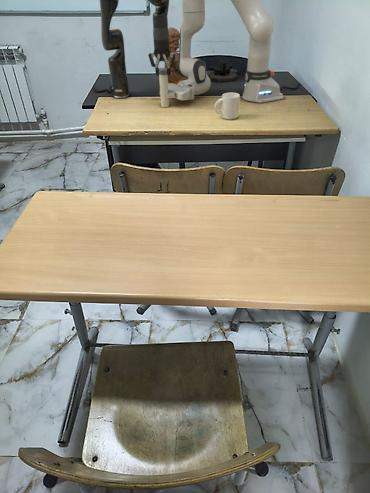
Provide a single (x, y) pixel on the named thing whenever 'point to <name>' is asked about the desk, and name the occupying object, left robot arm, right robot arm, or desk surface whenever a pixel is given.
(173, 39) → the sculpture
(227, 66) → the abstract sculpture
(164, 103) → the beige tapered cylinder
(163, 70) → the lid
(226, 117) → the mug
